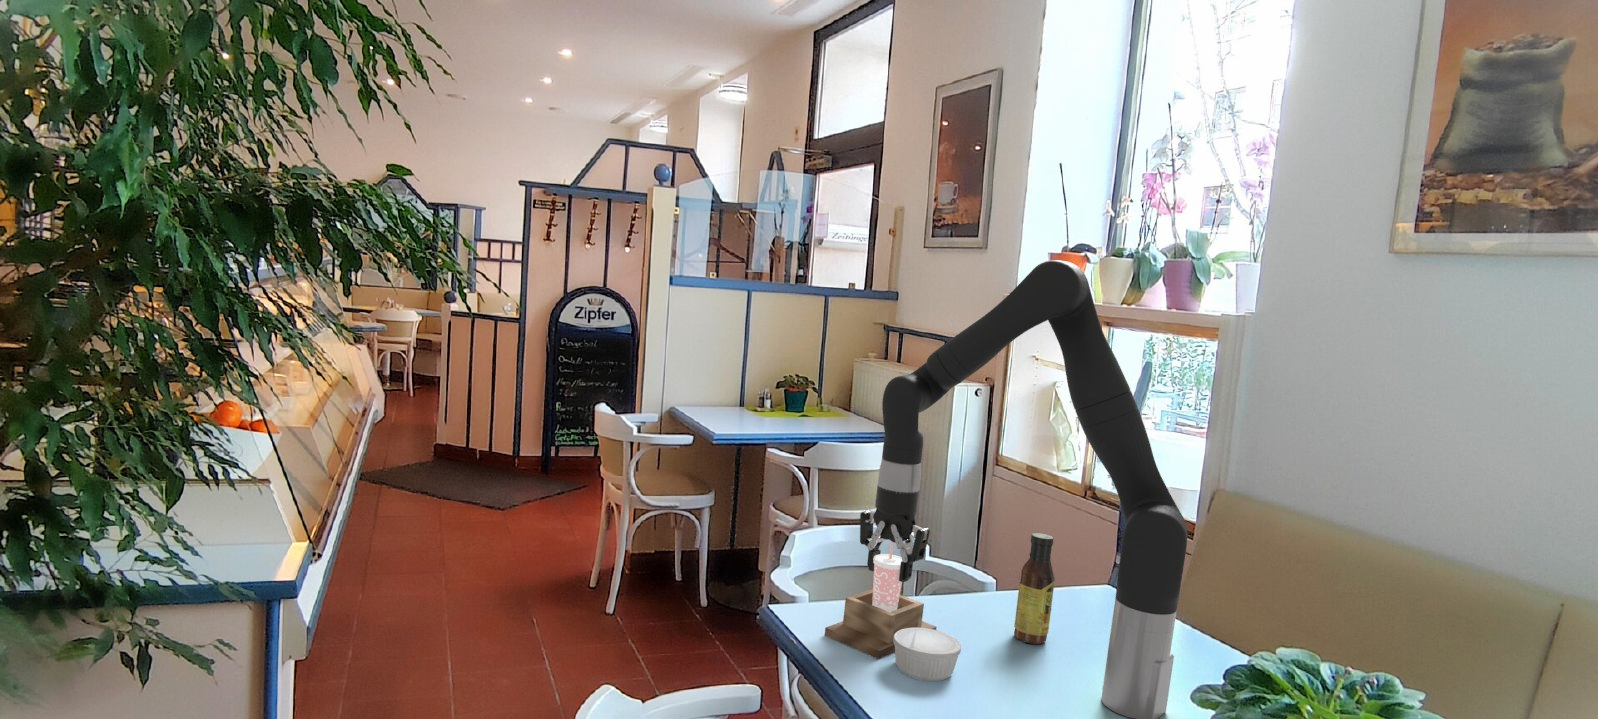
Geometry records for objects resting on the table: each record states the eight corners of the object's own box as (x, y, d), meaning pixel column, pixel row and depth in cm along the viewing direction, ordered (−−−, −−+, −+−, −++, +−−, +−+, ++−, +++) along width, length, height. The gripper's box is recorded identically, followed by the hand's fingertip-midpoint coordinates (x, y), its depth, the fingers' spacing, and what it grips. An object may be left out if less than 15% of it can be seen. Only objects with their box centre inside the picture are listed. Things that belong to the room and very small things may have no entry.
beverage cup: (861, 602, 167) (870, 527, 166) (890, 599, 170) (899, 526, 168) (878, 614, 161) (887, 538, 160) (907, 612, 164) (916, 537, 163)
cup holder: (935, 634, 169) (939, 600, 168) (878, 659, 155) (882, 622, 155) (883, 613, 177) (887, 581, 176) (824, 635, 163) (828, 600, 163)
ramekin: (879, 657, 157) (882, 627, 156) (936, 653, 161) (939, 625, 160) (909, 687, 146) (913, 656, 146) (969, 682, 150) (973, 652, 150)
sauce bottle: (1047, 648, 168) (1062, 543, 166) (1013, 642, 169) (1026, 538, 167) (1045, 634, 174) (1059, 534, 172) (1012, 629, 176) (1025, 529, 174)
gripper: (944, 492, 161) (933, 583, 163) (878, 474, 171) (868, 560, 172) (920, 497, 156) (909, 591, 157) (854, 478, 165) (844, 567, 167)
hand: (888, 575), depth 165 cm, fingers closed on beverage cup, 6 cm apart
